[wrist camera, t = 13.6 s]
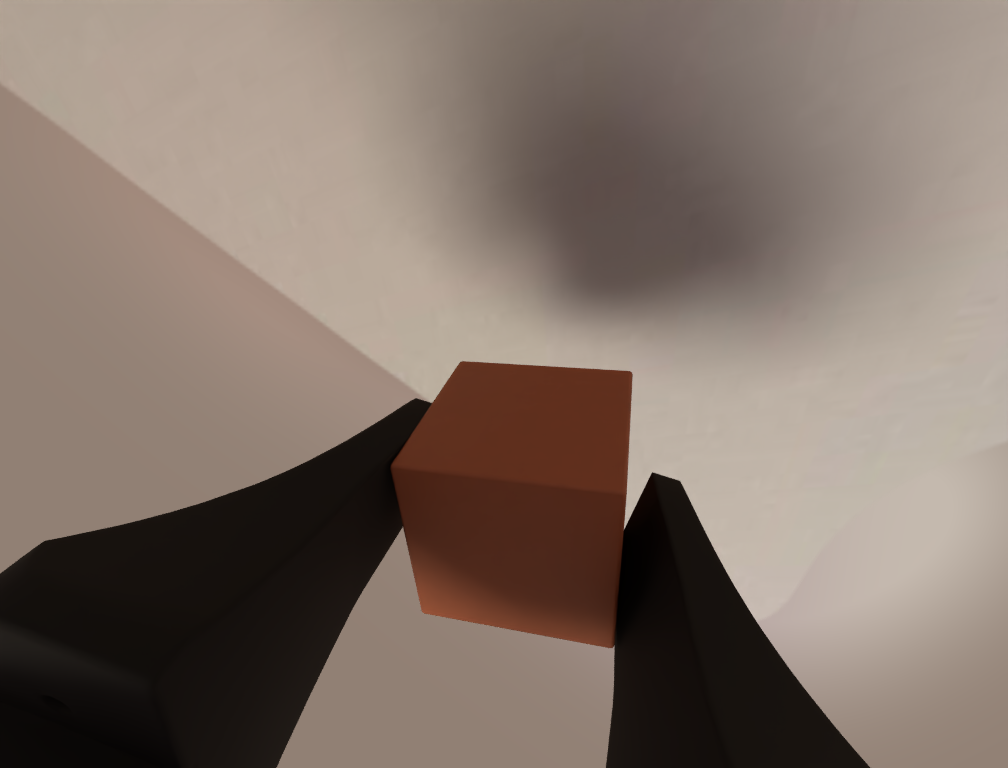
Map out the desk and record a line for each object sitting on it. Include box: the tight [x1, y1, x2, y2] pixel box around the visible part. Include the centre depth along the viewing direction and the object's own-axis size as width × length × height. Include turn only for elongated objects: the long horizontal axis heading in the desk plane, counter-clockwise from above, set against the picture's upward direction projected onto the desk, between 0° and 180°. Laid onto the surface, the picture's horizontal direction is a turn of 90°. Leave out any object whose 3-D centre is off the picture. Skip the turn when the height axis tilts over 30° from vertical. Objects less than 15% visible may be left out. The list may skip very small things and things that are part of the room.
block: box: [390, 361, 632, 648], centre depth 11 cm, size 4×4×4 cm
